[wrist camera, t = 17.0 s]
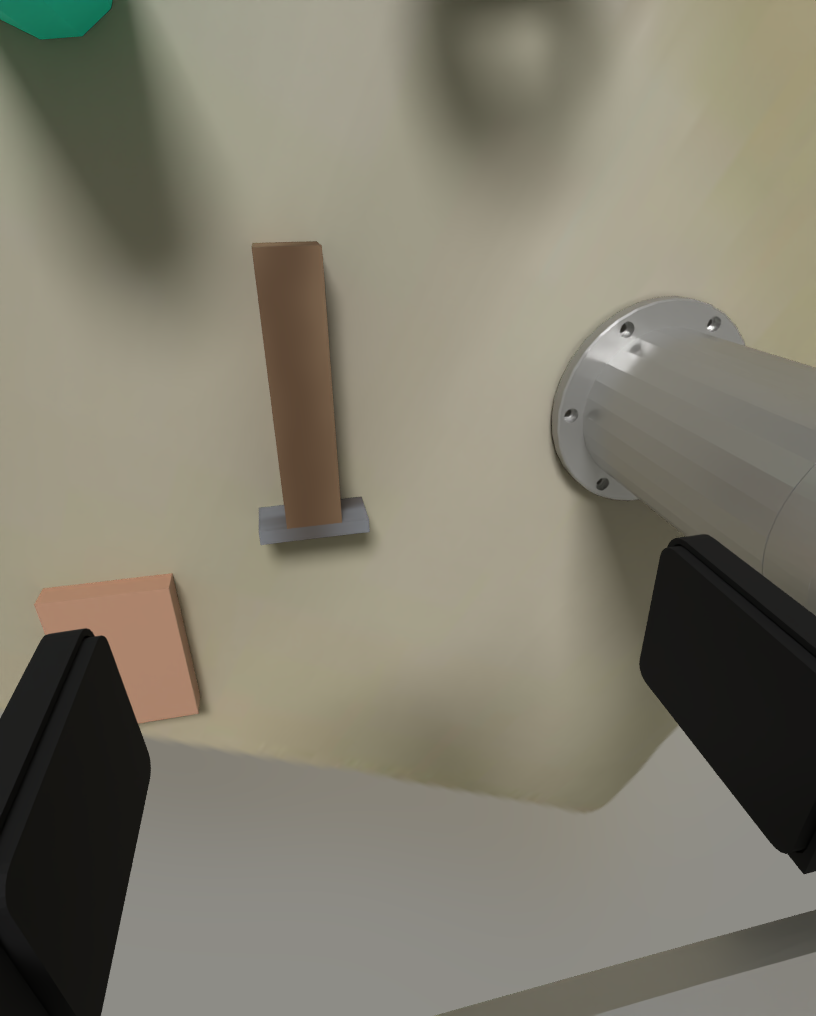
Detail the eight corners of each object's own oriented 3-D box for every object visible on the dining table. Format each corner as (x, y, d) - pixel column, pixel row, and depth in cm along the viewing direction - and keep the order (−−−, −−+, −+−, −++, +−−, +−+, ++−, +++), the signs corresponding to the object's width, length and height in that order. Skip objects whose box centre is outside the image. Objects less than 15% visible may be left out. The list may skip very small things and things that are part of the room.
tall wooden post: (347, 240, 29) (355, 244, 26) (361, 507, 36) (369, 531, 33) (220, 243, 27) (215, 248, 25) (260, 518, 34) (260, 544, 32)
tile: (168, 588, 33) (198, 713, 38) (173, 568, 35) (201, 691, 40) (34, 604, 32) (82, 732, 37) (45, 583, 34) (90, 708, 38)
